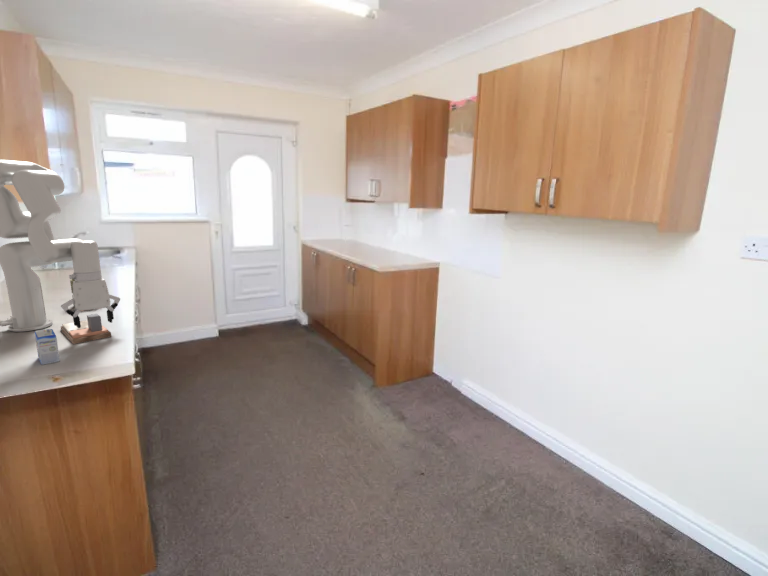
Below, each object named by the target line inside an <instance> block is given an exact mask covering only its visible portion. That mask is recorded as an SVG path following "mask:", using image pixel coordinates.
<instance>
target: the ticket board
mask: <svg viewBox="0 0 768 576" xmlns="http://www.w3.org/2000/svg"><path fill="white" fill-rule="evenodd" d="M80 325H81V328H78V327H77V326H75V325H74V321H73V322H68V323H63V324H62V326H60V331H61V330H62V331H61V332H62V333H63V334H64V335H65V336H66V338H67V339H68V338H69V339H68V340H69V341H70V342H71V344H73V345H76V344H81V343H86V341H87V342H91V340H92V341H95V340H96V339H97V340H100V339H101V338H102V339H105V338H111V337H112V332H111V331H110V330H108V332H106V333H101V334H95V335H90V336H85V337H79V338H73V337H72V336H71V335H70V334H69V331H74V330H80V329H86V328H88V321H87V319H86V320H80Z"/></svg>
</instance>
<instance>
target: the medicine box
mask: <svg viewBox="0 0 768 576" xmlns="http://www.w3.org/2000/svg"><path fill="white" fill-rule="evenodd" d="M34 337H35V343H36V352H37V357H38V359H39V362H40V365H41V366H43V365H48V364H54V363H58V362H60V361H61V360H60V353H59V346H58V339H57V334H56V333H55V331H54V329H53V328H43V329H38V330H34Z"/></svg>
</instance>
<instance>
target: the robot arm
mask: <svg viewBox="0 0 768 576" xmlns="http://www.w3.org/2000/svg"><path fill="white" fill-rule="evenodd" d="M5 185H6V186H13V187H14V188H15V190H16V192H17V194H18V195H19V197H20V199H21V201H22V202H23V205H24V206H25V207H26V209H27V211H23V210H22V209H21V207H20V203H19V200H18V198H17V197H16V195H14V193H13V192H12V191H10V190H9V189H8V188H7V187H6V186H5ZM64 191H65V183H64V180H63V179H62V177H61V176H60V175H59V174H58V173H57V172H55V171H53V170H51V169H48V168H47V167H44V166H42V165H39V164H38V163H35V162H31V161H24V160H23V161H22V160H14V159H13V160H10V159H0V238H1V239H7V240H10V239H11V240H12V239H15V240H16V239H28V240H26V241H17V242H15V241H14V242H9V243H5V244H3V245H1V246H0V267H1V269H2V272H3V276H4V280H5V286H6V288H7V295H8V300H9V301H8V302H9V306H10V312H11V315H10V318H7V319H2V320H0V327H6V326H8V327H7V328H8V331H10V332H13V333H14V332H17V333H19V332H30V331H38V330H43V329H47V328H48V327H50V326H52V325H53V324H54V323H53V320H52V319H48V318H47V313H46V306H45V301H44V295H43V289H42V282H41V279H40V277H39V275H38V274H37V273H36V272H35V271H34V270H33V269H32V268H37V267H41V266H42V267H43V266H49V265H53V264H56V263H62V262H63V263H64V262H69V261H72V267H73V274H69V275H68V278H69V280H71V279H74V280H75V281H73V290H72V291H73V293H72V295H73V298H71V299H69V300H68V301H66V302H65V303H63V304H61V305H60V307H61V309H62V310H63V311H64V312H65V313H66V314H67V315H70V316H71V317H72V320H73V322H74V325H75V326H77V327H78V328H81V325H80V321H81V318H80V316H79V315H80V313H81V312H85V311H93V310H101V309H105V308H106V309H107V310H106V318H107V322H109V323H113V320H114V319H115V318H114V311H115V309H116V308H117V306H118V305H119V303H120V301H121V298H120V297H119V296H115V295H112V294H110V293H109V289H108V284H107V281H106V279H104V278H103V277H102V270H101V263H100V255H99V254H100V253H99V247H98V243H97V242H96V241H95V240H90V239H85V240H83V239H81V238H76V237H75V238H61V239H59V238H58V239H55V237H54V234H53V231H52V228H51V225H50V222H49V221H51V220H52V219H54V218H56V217H58V216H59V214H60V213H61V211H62V210H61V209H62V208H61V207H60V205H59V204H58V202H57V200H56V198H55V197H54V196H59V195H62V194H63V192H64ZM72 291H71V292H72ZM111 300H113V302H112V303H111ZM71 305H73V308H74V309H73V311H72V310H71V309H69V306H71Z"/></svg>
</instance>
